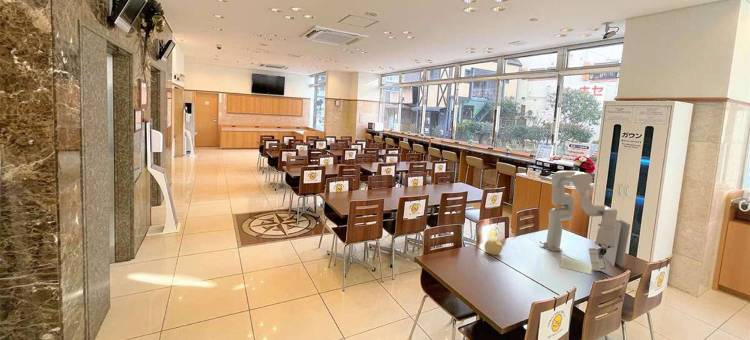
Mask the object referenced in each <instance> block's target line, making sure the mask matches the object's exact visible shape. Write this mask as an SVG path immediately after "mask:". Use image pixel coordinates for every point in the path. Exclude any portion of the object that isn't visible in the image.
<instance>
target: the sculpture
mask: <svg viewBox="0 0 750 340" xmlns="http://www.w3.org/2000/svg"><path fill="white" fill-rule="evenodd" d="M484 250H485V252H486V253H487V254H489V255H492V256H498V255H499V254H501V253H502V250H503V244H502V242H501V241H500V240H499V239H496V238H490V239H488V240H486V241H485V242H484Z"/></svg>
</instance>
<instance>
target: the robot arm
mask: <svg viewBox="0 0 750 340" xmlns="http://www.w3.org/2000/svg"><path fill="white" fill-rule="evenodd" d="M564 183H572V185H573V186H574V188H575V189H576V191H577V192H578V194H579V195H580V205H581V208H582V209H583V211H584V212H585V214H587V216H589V217H601V222H600V223H598V225H597V226H598V229H597V233H596V236H595V241H594V244H595V245H597V246H598V247H601V252H600V253H602V254H601V255H603V256H605V255H606V250H607V249H608V248H614V244H615V237H616V231H615V230H614V229H615V223H616V220H617V216H618V210H617V209H616V208H613V207H609V206H607V205H605V204H593V203H592V201H591V199H590V196H591V195H592V194H593V193H594V188H593V187H592V185H591V184H592V183H593V176H592V175H591V174H590V173H587V172H583V171H577V170H558V171H556V172H554V173H553V174H552V176H551V204H552V205H553V206H555V207H554V208H551V209H549V210H548V226H547V227H548V228H547V234H546V235H547V236H546V240H539V243H540V244H542V245H543V248H544V249H546V250H548V251H552V252H562V250H563V248H562V247H561V241H562V236H563V235H562V234H563V229H564V227H563V223H562V221H570V220H572V218H573V217H574V206H575V205H574V203H575V199H574V197H573V195H572V194H571V193H567V192H566V187H565V185H564Z"/></svg>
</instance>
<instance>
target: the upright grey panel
mask: <svg viewBox="0 0 750 340" xmlns="http://www.w3.org/2000/svg"><path fill="white" fill-rule="evenodd" d="M630 229H631V224H630V223H628V222H626V221H625V220H623V219H622V218H619V220H618V219H616V223H615V229H614V230H615V231H616V237H615V244H614V248H608V249H607V250H606V254H605V255H604V256H605V257H604V259H605V258H606V260H607V261H608V263H610V264H611V265H612V266H613V267H615V265H617V266H619V267H621V268H624V263H625V257H626V250H627V245H628V239H629V235H630ZM615 263H616V264H615Z"/></svg>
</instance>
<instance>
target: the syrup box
mask: <svg viewBox="0 0 750 340" xmlns="http://www.w3.org/2000/svg"><path fill="white" fill-rule="evenodd" d="M600 252H601V247H600V246H594V247H589V248H588V253H589V259H590V264H591V266H592V271H598V272H602V271H606V269H607V268H606V262H605V257H604V256H605V255H601V254H602V253H600Z"/></svg>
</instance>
